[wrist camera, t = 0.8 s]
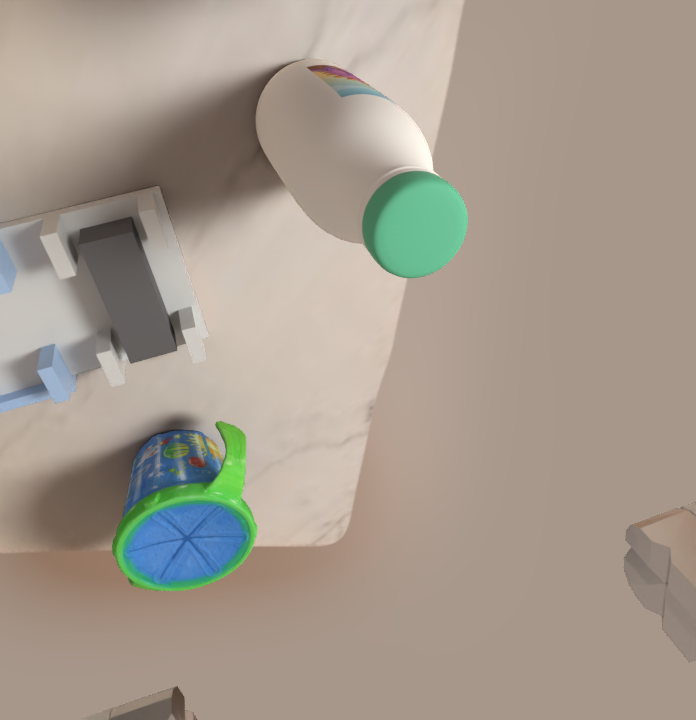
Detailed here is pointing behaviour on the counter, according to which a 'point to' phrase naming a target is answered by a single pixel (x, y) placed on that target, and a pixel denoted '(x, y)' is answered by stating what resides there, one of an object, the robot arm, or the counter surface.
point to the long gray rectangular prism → (128, 288)
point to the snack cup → (185, 511)
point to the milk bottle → (359, 167)
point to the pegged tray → (80, 298)
